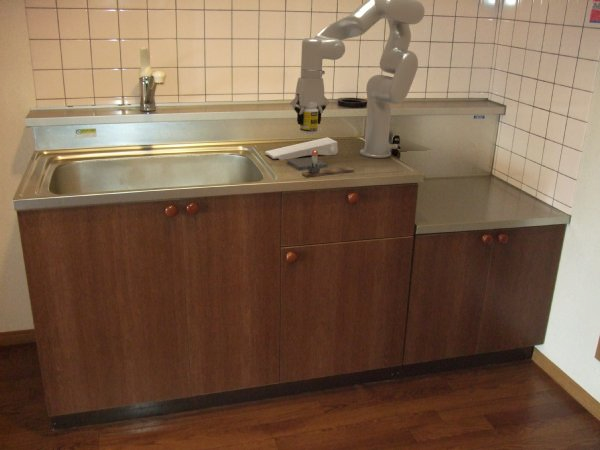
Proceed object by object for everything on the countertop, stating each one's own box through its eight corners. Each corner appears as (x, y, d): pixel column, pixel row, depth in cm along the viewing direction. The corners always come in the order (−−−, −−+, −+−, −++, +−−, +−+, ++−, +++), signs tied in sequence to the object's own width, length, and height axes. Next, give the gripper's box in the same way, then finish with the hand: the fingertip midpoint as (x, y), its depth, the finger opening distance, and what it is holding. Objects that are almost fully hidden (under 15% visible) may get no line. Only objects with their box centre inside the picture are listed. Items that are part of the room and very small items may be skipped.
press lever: (316, 170, 219) (317, 149, 216) (319, 172, 216) (320, 150, 214) (308, 171, 217) (309, 149, 214) (311, 172, 215) (312, 151, 212)
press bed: (314, 160, 236) (315, 157, 236) (327, 167, 228) (327, 164, 227) (287, 163, 231) (287, 160, 230) (299, 170, 223) (299, 167, 222)
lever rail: (349, 169, 226) (349, 167, 225) (353, 171, 223) (354, 169, 223) (302, 175, 217) (302, 172, 216) (305, 177, 214) (306, 174, 214)
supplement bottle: (311, 134, 221) (313, 103, 216) (296, 132, 224) (297, 101, 219) (320, 131, 226) (322, 101, 222) (305, 129, 229) (307, 99, 225)
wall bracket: (275, 174, 236) (338, 159, 247) (275, 158, 232) (339, 143, 242) (265, 162, 243) (326, 147, 254) (264, 146, 239) (327, 132, 249)
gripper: (327, 72, 224) (324, 120, 230) (284, 73, 216) (283, 123, 223) (337, 75, 218) (334, 124, 224) (294, 76, 210) (292, 127, 217)
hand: (309, 123), depth 224 cm, fingers closed on supplement bottle, 6 cm apart
